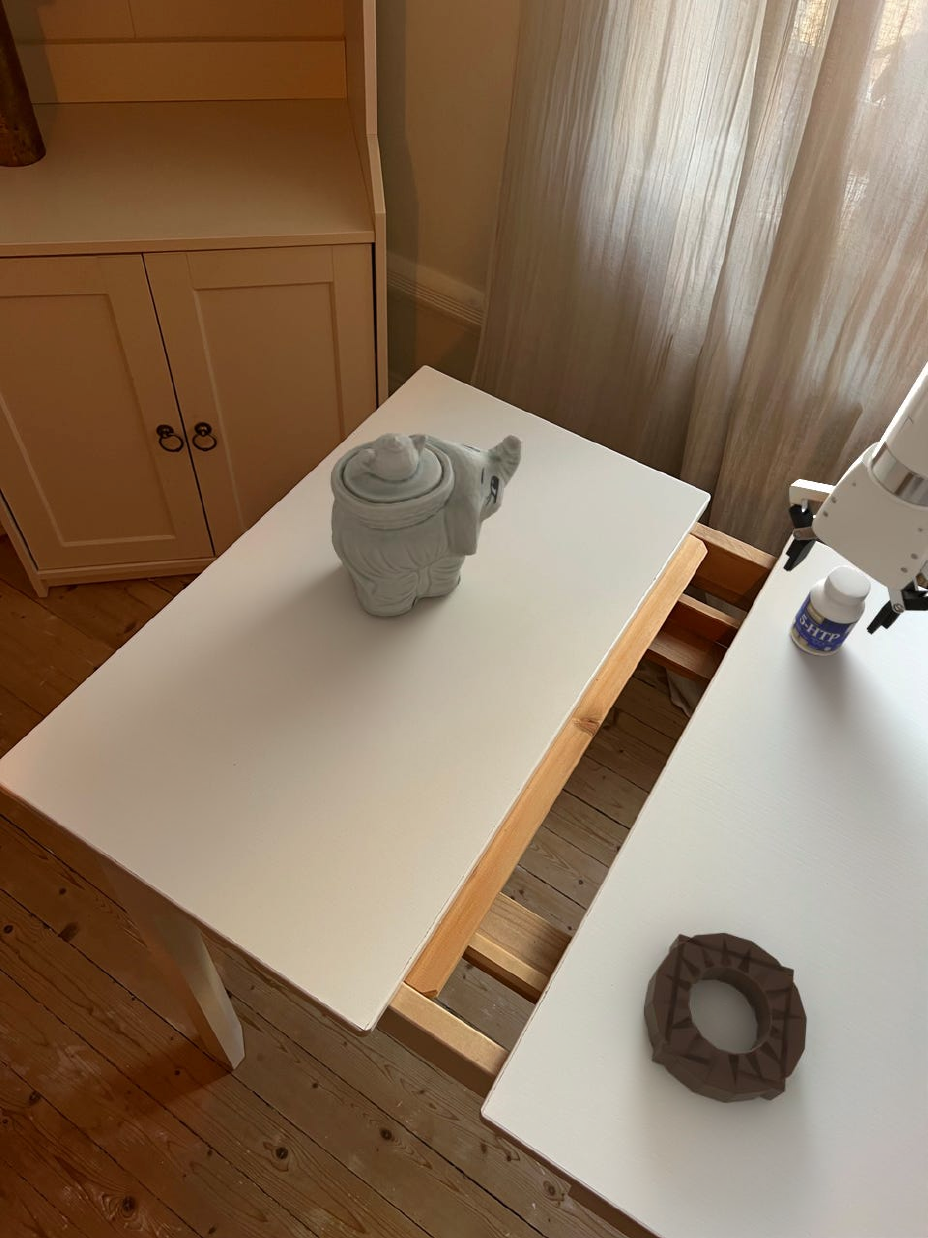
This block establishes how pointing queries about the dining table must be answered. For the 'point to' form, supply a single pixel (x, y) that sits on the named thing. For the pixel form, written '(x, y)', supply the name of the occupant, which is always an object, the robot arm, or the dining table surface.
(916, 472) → the robot arm
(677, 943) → the socket plate
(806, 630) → the pill bottle
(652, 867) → the dining table surface
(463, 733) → the dining table surface
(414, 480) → the teapot
